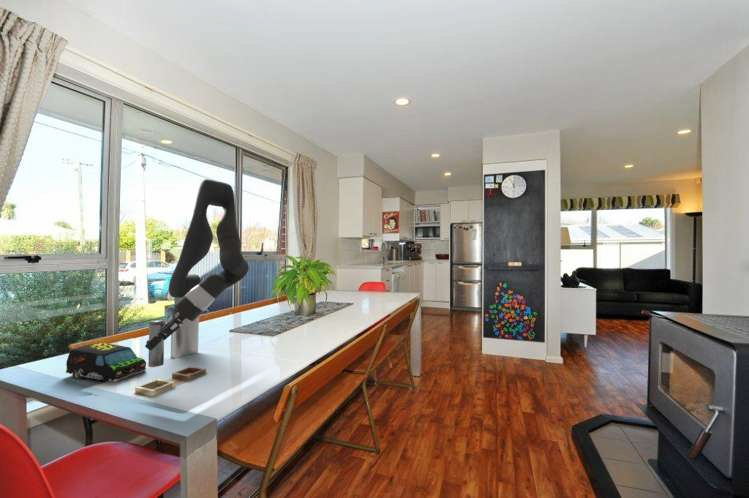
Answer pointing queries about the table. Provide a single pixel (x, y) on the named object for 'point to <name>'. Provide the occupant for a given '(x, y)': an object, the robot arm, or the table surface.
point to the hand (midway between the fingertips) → (148, 346)
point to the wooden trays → (169, 381)
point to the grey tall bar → (157, 352)
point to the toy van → (104, 362)
